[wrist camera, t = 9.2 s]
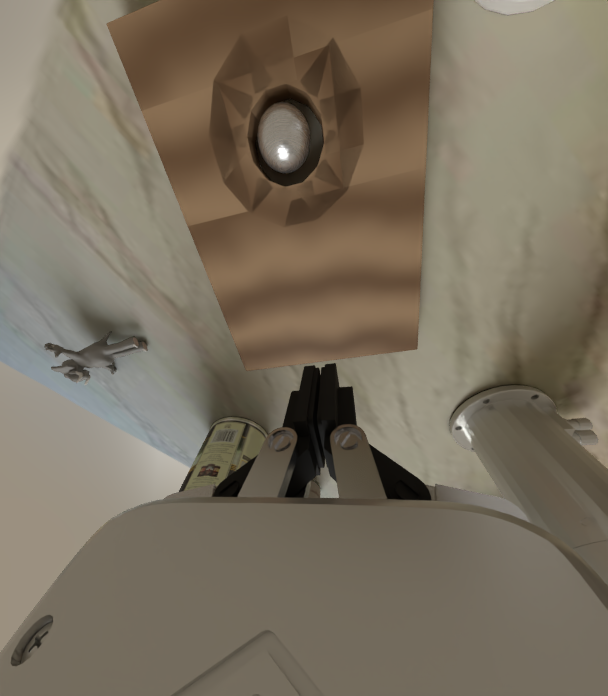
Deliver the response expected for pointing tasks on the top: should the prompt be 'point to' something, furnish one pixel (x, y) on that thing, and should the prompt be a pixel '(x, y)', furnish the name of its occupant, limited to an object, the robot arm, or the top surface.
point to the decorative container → (512, 5)
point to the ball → (284, 137)
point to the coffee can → (224, 451)
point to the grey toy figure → (94, 357)
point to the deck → (319, 187)
